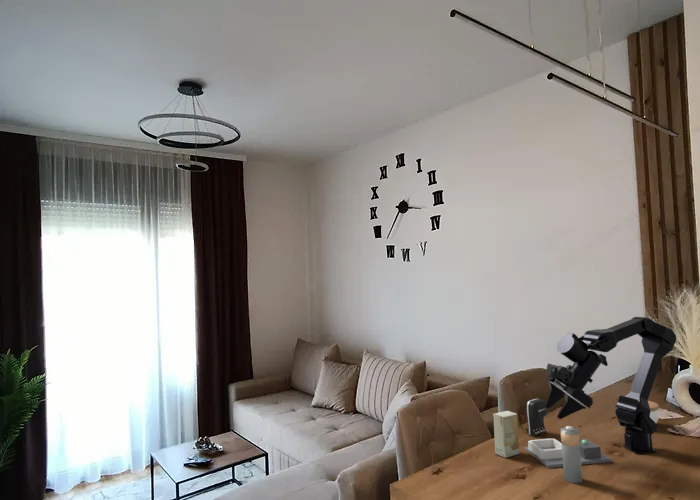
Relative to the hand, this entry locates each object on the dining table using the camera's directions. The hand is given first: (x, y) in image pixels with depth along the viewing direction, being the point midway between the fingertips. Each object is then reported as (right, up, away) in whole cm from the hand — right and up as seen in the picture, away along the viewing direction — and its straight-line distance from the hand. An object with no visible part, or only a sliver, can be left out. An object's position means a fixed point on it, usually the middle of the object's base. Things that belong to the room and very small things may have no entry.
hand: (552, 412), depth 136 cm
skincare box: (-11, -15, +6) cm, 19 cm away
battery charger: (+4, -15, +20) cm, 26 cm away
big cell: (0, -13, -13) cm, 19 cm away
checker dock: (+5, -14, +2) cm, 15 cm away
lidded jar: (+41, -13, +23) cm, 49 cm away
